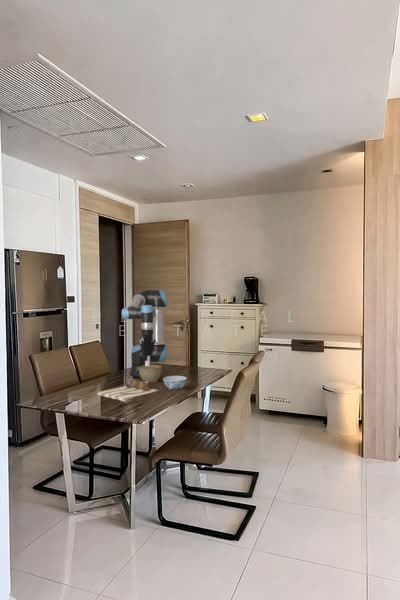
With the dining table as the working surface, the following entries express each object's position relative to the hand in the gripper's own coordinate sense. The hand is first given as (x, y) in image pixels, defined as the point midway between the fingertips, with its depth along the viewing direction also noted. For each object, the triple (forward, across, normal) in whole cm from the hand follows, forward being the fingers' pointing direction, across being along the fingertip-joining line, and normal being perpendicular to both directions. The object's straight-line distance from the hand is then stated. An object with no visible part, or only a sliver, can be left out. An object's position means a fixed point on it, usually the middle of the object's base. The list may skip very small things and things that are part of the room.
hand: (147, 365), depth 264 cm
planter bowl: (+15, +17, +15) cm, 28 cm away
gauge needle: (+13, -6, +3) cm, 15 cm away
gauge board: (+16, -15, +2) cm, 21 cm away
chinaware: (+16, +10, -15) cm, 24 cm away
